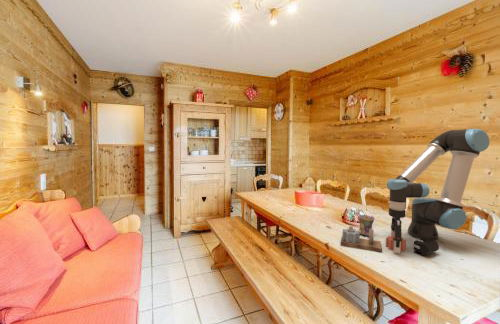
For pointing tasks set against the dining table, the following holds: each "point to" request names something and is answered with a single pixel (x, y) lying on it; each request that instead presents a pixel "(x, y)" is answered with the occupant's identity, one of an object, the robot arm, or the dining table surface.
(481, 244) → the dining table surface
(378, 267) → the dining table surface
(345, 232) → the gear
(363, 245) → the gear board
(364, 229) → the mug
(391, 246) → the red gear
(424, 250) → the end cap
